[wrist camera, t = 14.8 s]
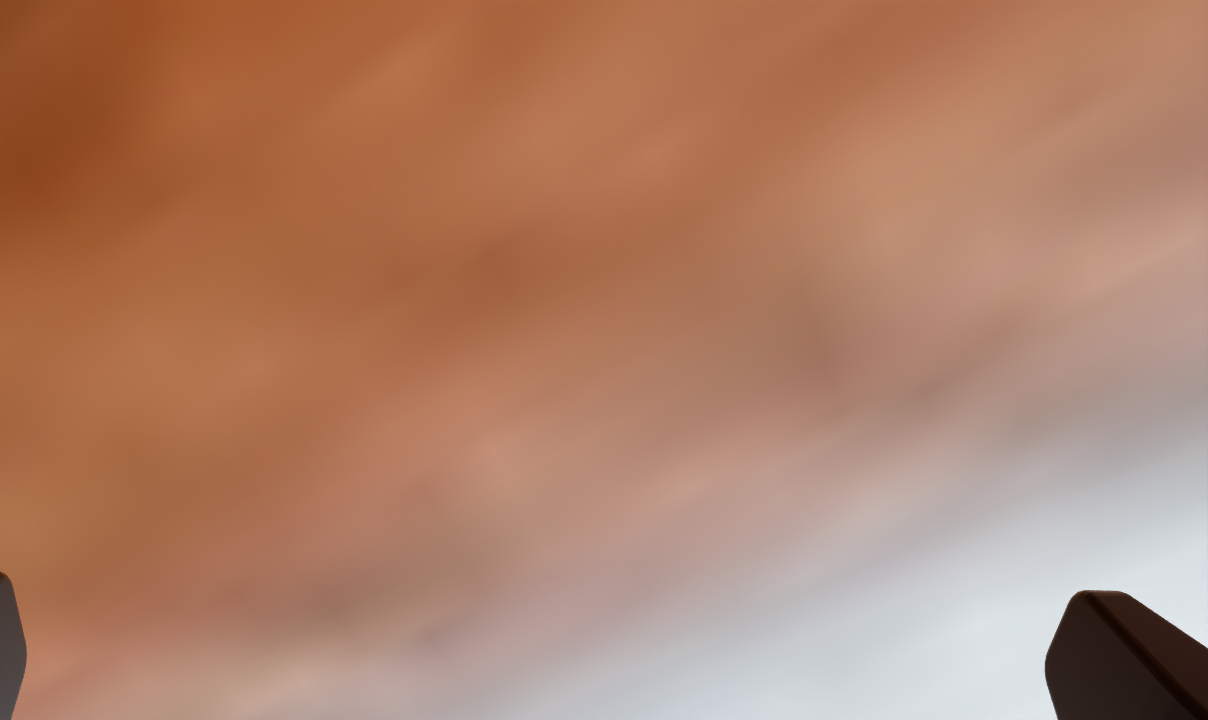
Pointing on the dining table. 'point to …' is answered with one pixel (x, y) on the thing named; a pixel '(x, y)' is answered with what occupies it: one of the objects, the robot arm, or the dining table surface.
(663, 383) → the dining table surface
